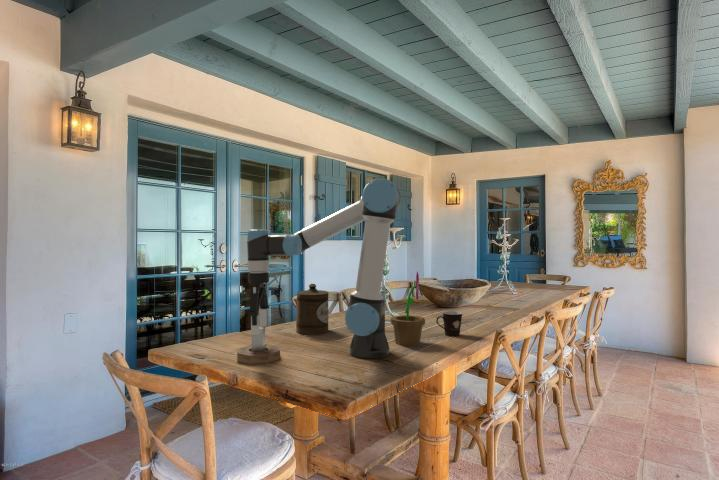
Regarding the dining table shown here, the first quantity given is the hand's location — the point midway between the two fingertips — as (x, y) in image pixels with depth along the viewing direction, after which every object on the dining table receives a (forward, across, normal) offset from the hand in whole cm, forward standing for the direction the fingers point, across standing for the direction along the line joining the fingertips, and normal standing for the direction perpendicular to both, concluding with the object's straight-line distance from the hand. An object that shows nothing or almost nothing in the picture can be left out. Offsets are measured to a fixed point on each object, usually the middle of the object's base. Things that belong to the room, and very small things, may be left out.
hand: (259, 330), depth 165 cm
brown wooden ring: (+10, 0, -1) cm, 10 cm away
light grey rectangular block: (+10, 0, -1) cm, 10 cm away
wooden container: (+10, -44, +15) cm, 48 cm away
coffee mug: (+12, -38, +76) cm, 86 cm away
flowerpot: (+11, -23, +56) cm, 62 cm away
